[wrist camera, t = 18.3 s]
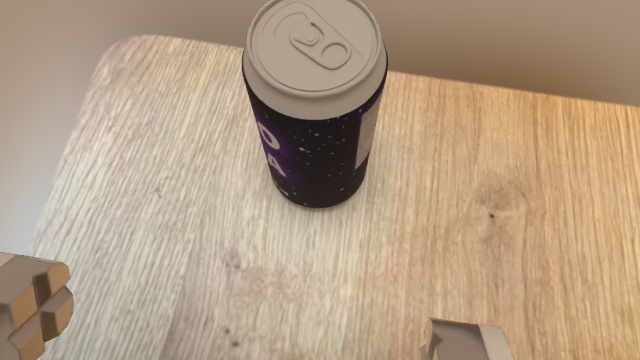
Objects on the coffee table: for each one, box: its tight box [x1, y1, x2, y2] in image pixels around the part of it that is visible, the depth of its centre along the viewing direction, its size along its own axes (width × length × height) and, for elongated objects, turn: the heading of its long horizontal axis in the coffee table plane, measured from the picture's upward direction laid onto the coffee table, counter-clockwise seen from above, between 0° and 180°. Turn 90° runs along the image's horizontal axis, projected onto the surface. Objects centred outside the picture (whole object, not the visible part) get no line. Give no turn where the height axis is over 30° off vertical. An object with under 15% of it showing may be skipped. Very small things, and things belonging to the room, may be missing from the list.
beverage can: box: [242, 0, 388, 208], centre depth 22 cm, size 6×6×12 cm
